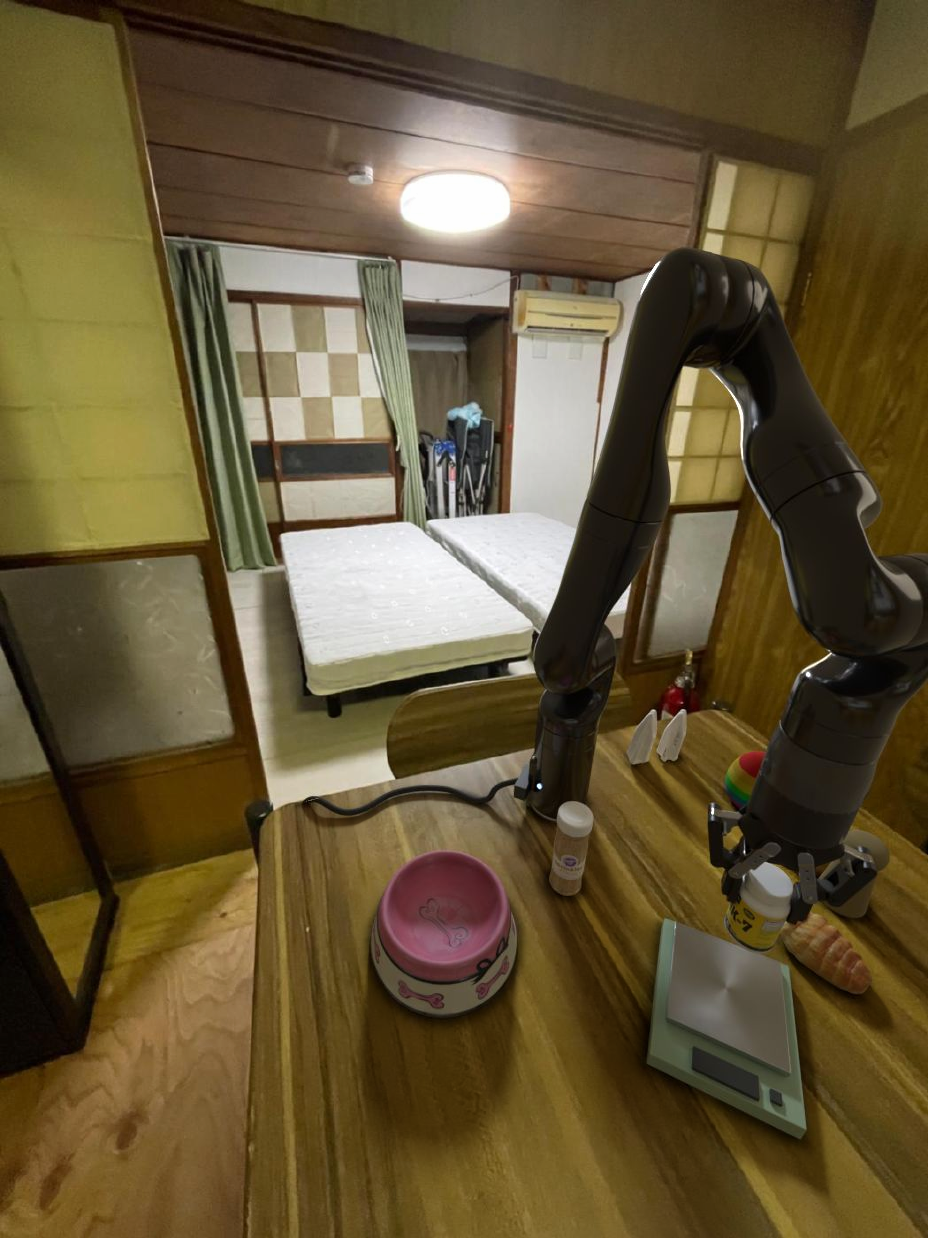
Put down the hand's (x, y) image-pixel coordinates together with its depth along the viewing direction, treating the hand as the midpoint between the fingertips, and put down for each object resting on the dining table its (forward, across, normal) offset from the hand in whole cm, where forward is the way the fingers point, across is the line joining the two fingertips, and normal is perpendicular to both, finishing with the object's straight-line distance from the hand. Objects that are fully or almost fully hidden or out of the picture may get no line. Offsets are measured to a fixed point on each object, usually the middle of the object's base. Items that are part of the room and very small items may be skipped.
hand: (759, 905), depth 52 cm
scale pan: (+14, 0, +1) cm, 14 cm away
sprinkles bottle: (+17, +20, -7) cm, 27 cm away
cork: (+17, -15, -21) cm, 31 cm away
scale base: (+17, 0, +2) cm, 17 cm away
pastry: (+17, -11, -11) cm, 23 cm away
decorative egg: (+17, -4, -35) cm, 39 cm away
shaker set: (+17, +12, -39) cm, 44 cm away
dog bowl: (+17, +32, +7) cm, 37 cm away
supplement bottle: (+5, 0, 0) cm, 5 cm away
